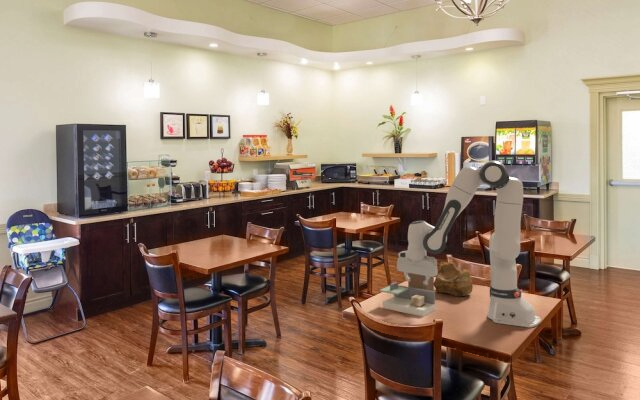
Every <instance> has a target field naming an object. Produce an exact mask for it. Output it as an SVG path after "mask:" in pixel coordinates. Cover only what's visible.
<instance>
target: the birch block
mask: <svg viewBox="0 0 640 400" xmlns="http://www.w3.org/2000/svg"><path fill="white" fill-rule="evenodd" d="M411 306H415V307H419V308H421V307H423V306H424V296H420V295H415V296H413V297H411Z"/></svg>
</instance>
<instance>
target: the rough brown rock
mask: <svg viewBox="0 0 640 400" xmlns="http://www.w3.org/2000/svg"><path fill="white" fill-rule="evenodd" d="M438 267H439V269H438V274H437V275H436V276H435V278H434V290H435V292H436V293H441V294H442V293H447V294H449V295H452V296H454V297H460V296H462V297H463V296H468V295H470V294H471V293H472V292H473V289H474V288H473V286H474V285H473V280H472V277H471V272H470V270H469V269H463V270H461V269H460V268H458V267H457V265H456V263H455V262H451V261H447V262H446V261H440V262H439V266H438Z"/></svg>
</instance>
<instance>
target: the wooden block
mask: <svg viewBox="0 0 640 400" xmlns="http://www.w3.org/2000/svg"><path fill="white" fill-rule="evenodd" d="M408 276H409V277H410V281H409V282H408V281H407V282H408V283H407V285H408V286H407V287H412V288H418V289H423V290H429V291H434V292H435V287H434V281H435V277H430V279H429V280H428V285H424V284H423V281H425V280H426V276H424V275H418V274H413V273H408Z"/></svg>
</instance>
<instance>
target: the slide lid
mask: <svg viewBox="0 0 640 400" xmlns="http://www.w3.org/2000/svg"><path fill="white" fill-rule="evenodd" d="M398 285H399V282H398V281H394V282H391V283H390V284H389V285H388V286H385V287H384V288H381V289H379V292H380V293H387V294H391V295H394V294H396V295H398V294H400V293H402V292H405V291H407V290H408V288H404V287H398Z"/></svg>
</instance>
